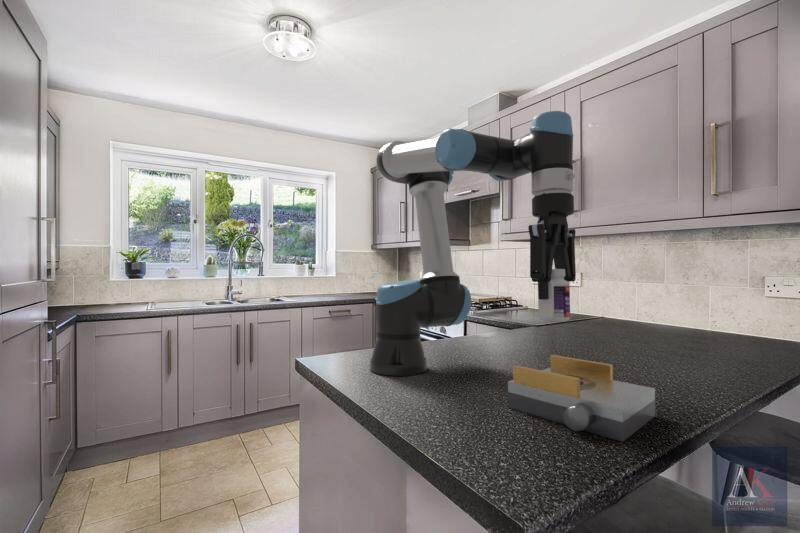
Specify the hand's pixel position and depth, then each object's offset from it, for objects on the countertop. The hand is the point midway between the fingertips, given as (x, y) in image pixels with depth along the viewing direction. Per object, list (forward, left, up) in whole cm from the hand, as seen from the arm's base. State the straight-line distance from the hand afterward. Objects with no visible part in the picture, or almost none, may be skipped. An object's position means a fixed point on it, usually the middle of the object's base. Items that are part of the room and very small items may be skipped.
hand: (554, 315), depth 74 cm
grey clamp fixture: (+4, 0, -18) cm, 18 cm away
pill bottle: (0, 0, -1) cm, 1 cm away
